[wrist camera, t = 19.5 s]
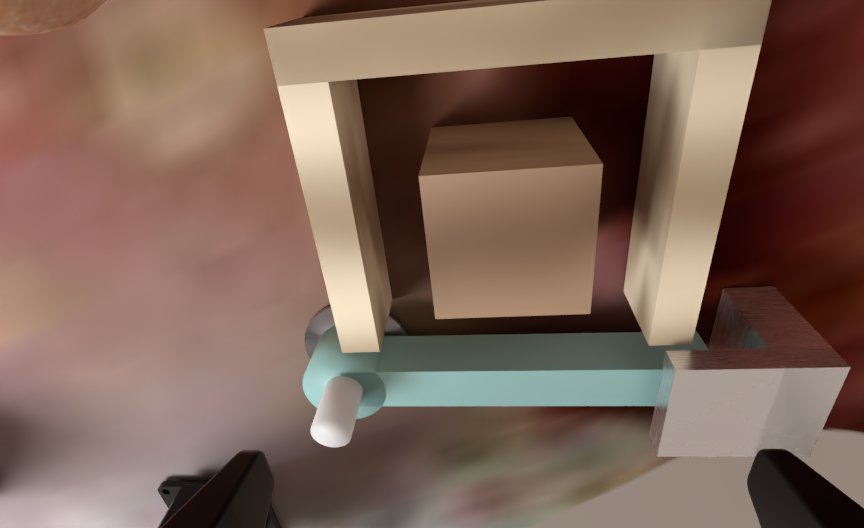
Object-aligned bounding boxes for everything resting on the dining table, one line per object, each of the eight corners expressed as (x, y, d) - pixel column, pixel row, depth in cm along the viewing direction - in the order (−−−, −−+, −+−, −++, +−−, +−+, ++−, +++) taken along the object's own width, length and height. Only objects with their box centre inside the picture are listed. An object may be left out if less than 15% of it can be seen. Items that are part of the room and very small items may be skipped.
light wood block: (565, 239, 20) (590, 314, 16) (443, 246, 20) (435, 319, 16) (571, 115, 17) (603, 163, 13) (431, 126, 18) (418, 176, 14)
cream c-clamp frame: (660, 290, 21) (691, 344, 18) (359, 300, 22) (342, 352, 19) (715, -24, 15) (777, -22, 12) (302, 17, 16) (263, 28, 13)
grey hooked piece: (745, 375, 23) (805, 465, 19) (318, 382, 25) (288, 464, 21) (773, 286, 20) (850, 367, 16) (295, 303, 22) (256, 377, 18)
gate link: (325, 382, 24) (296, 463, 20) (309, 323, 22) (274, 400, 18) (684, 379, 22) (730, 467, 18) (700, 316, 20) (755, 399, 16)
